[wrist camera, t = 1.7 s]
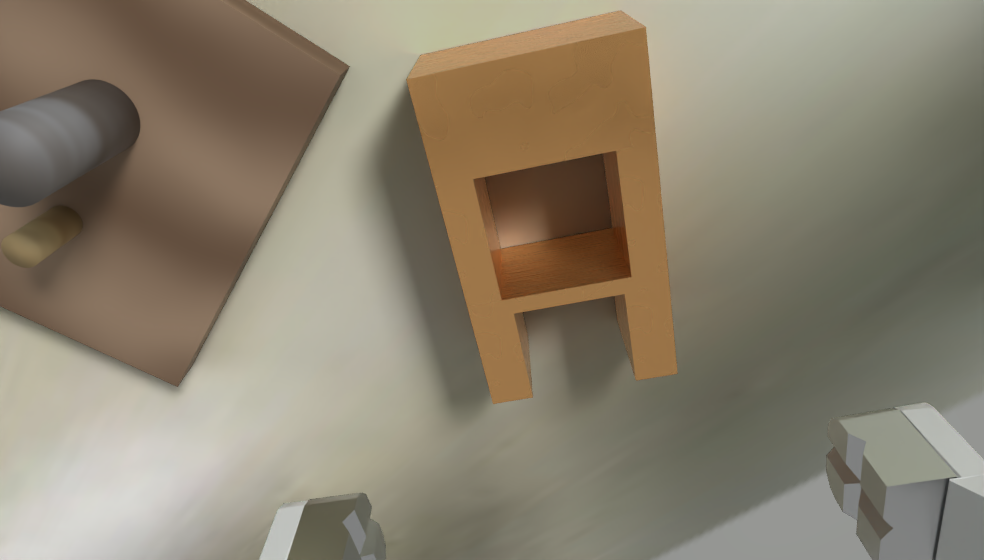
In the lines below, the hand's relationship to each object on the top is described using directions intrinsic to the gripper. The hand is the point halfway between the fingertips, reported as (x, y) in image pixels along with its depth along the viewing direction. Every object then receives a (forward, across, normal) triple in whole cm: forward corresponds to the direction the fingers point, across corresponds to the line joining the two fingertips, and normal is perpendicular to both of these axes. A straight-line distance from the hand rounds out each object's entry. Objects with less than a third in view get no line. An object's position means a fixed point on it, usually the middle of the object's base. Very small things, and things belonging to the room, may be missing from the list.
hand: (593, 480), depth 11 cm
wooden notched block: (+14, 0, 0) cm, 15 cm away
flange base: (+15, +15, -5) cm, 22 cm away
